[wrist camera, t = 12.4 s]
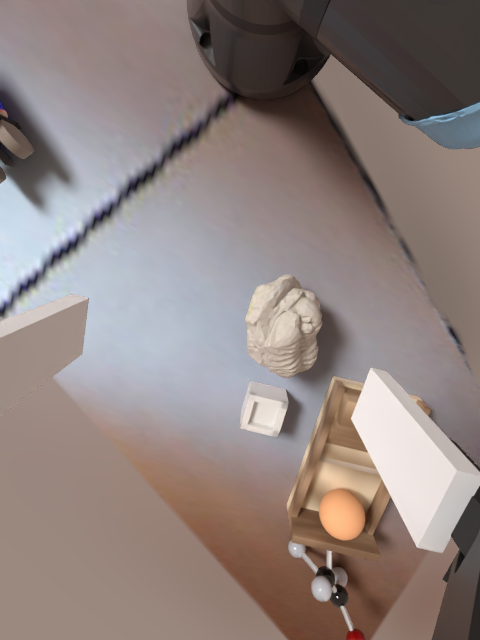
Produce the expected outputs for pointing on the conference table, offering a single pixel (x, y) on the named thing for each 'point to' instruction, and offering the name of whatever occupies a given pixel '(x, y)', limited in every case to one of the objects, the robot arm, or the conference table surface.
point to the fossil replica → (283, 326)
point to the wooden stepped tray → (338, 475)
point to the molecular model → (329, 585)
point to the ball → (342, 514)
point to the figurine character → (12, 141)
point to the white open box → (264, 409)
